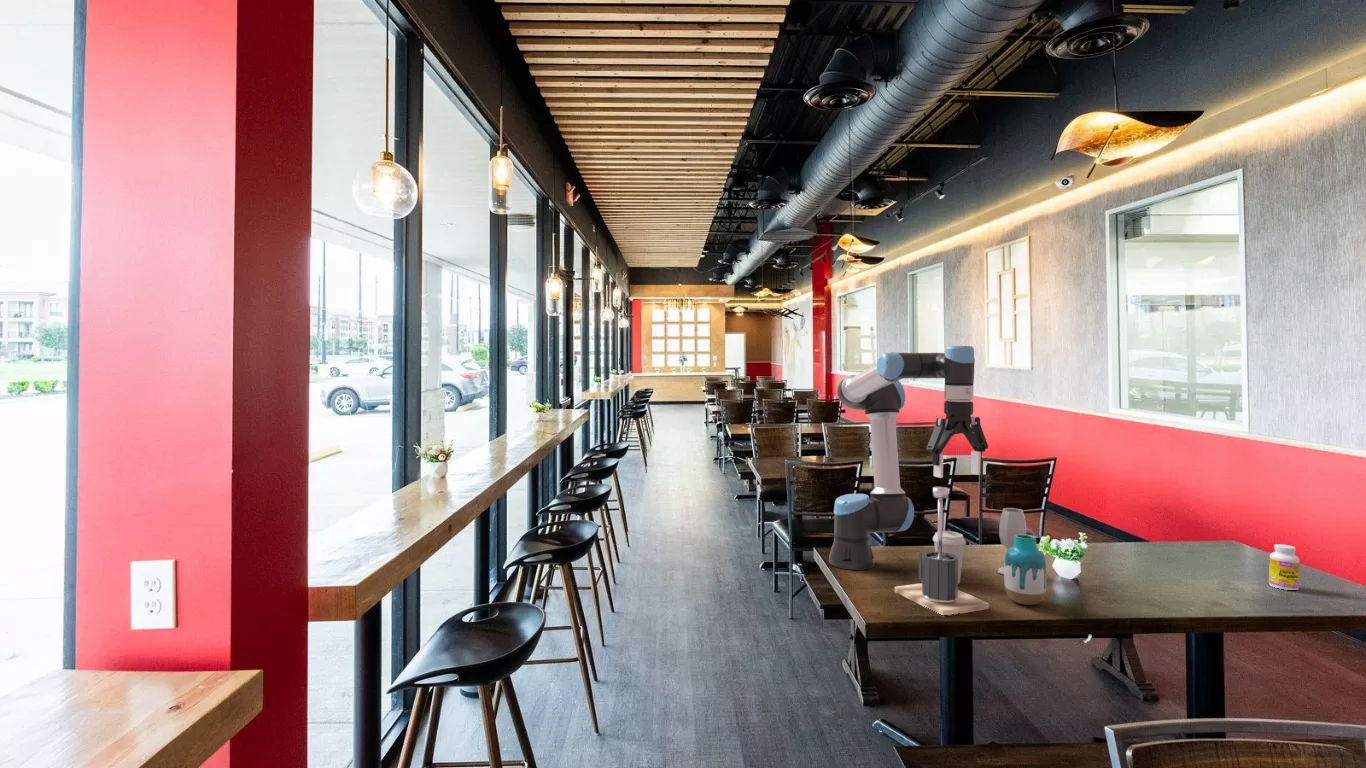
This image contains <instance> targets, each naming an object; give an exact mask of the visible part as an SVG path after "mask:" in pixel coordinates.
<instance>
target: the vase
mask: <svg viewBox="0 0 1366 768" xmlns="http://www.w3.org/2000/svg"><path fill="white" fill-rule="evenodd" d="M1037 546H1038V545H1037V538H1036V536H1034V535H1031V534H1027V533H1026V534H1017V535H1015V539H1014V546H1013V547H1011V548H1009V549H1006V552H1005V554H1004V561H1003V563H1004V564H1003V565H1004V566H1003V567H1004V575H1003V579H1004V580H1003V581H1004V583H1003V584H1004V590H1005V593H1006V595H1007V596H1008V598H1009V599H1010V600H1011V601H1013V602H1016V603H1018V604H1021V605H1026V606H1033V605H1039V604H1040V603H1041V602H1042V601H1044V599H1045V595H1046V590H1047V562H1046V557H1045V555H1044V553H1043V552H1042V551H1040V550H1039V549H1038V547H1037Z"/></svg>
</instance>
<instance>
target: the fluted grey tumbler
mask: <svg viewBox="0 0 1366 768" xmlns="http://www.w3.org/2000/svg"><path fill="white" fill-rule="evenodd" d="M930 556H938V552H935V551H934V550H933V551H922V552H918V581H920V582H921V583H922V596H923V598H924V599H926V600H928V601H930V602H934V603H940V604H952V603H955V602H957V597H958V590H959V584H958V558H957V556H955V555H952V554H949V553H944V552H942V556H944V557H948V558H950V559H951V560H938V559H932V558H930Z"/></svg>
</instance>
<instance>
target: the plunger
mask: <svg viewBox="0 0 1366 768" xmlns="http://www.w3.org/2000/svg"><path fill="white" fill-rule="evenodd" d="M932 497H933V498H935V499H937V532H938V556H930V558H932V559H938V560H951V559H950V558H948V557H944V556H942V531H943V514H944V513H943V512H944V510H943V500H944V499H948V498H949V488H948V487H946V486H945V487H944V486H933V487H932Z"/></svg>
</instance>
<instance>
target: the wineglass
mask: <svg viewBox="0 0 1366 768" xmlns="http://www.w3.org/2000/svg"><path fill="white" fill-rule="evenodd" d="M998 527H999V528H998V536H999V540H1000V543H1001V545H1002V546H1004V547H1005V548H1006V550H1008V549H1009V548H1011V547H1013V546H1014V539H1015V535H1017V534H1026V535H1027V522H1026V517H1025V513H1024V511H1023V509H1019V508H1014V507H1004V508H1003V509H1002V512H1001V516H1000V520H999V525H998ZM997 573H998V574H1000V575H1003V576H1004V566H1003V567H998V569H997Z"/></svg>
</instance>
